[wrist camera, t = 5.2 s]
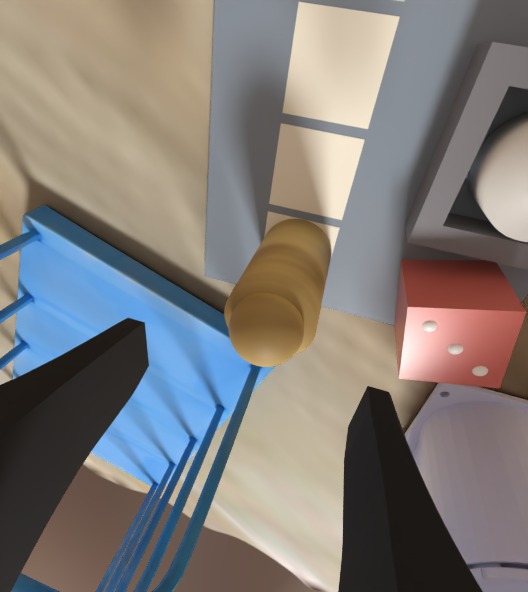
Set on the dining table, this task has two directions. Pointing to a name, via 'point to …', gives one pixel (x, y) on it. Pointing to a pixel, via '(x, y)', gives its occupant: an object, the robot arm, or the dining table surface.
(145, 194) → the dining table surface
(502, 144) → the dome
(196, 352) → the file sorter
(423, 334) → the die
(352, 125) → the board
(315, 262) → the tan rounded peg
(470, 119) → the dome housing
